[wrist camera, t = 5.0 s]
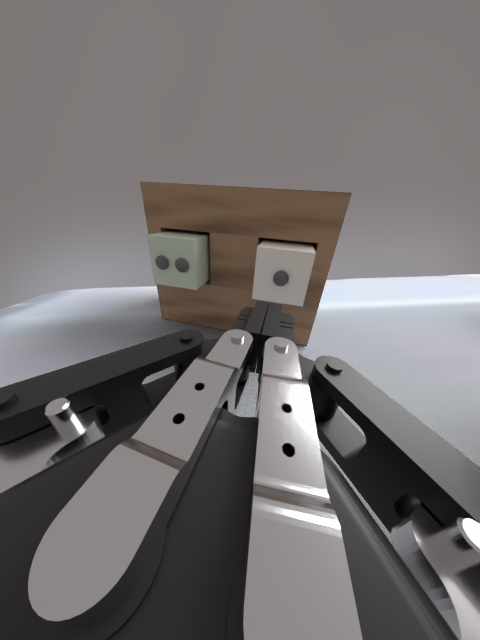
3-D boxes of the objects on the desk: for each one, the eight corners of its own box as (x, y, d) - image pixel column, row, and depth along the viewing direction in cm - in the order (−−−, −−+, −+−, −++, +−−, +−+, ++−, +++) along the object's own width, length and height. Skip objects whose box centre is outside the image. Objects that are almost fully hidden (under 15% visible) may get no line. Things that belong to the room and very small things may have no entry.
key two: (195, 290, 21) (192, 240, 18) (153, 284, 21) (144, 235, 19) (214, 275, 25) (214, 233, 23) (179, 270, 26) (175, 229, 24)
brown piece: (306, 345, 24) (351, 192, 16) (162, 318, 28) (139, 181, 20) (303, 310, 33) (332, 198, 25) (193, 292, 36) (186, 189, 28)
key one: (302, 307, 19) (316, 253, 16) (251, 299, 20) (256, 247, 17) (301, 287, 23) (311, 243, 21) (260, 281, 24) (265, 238, 22)
